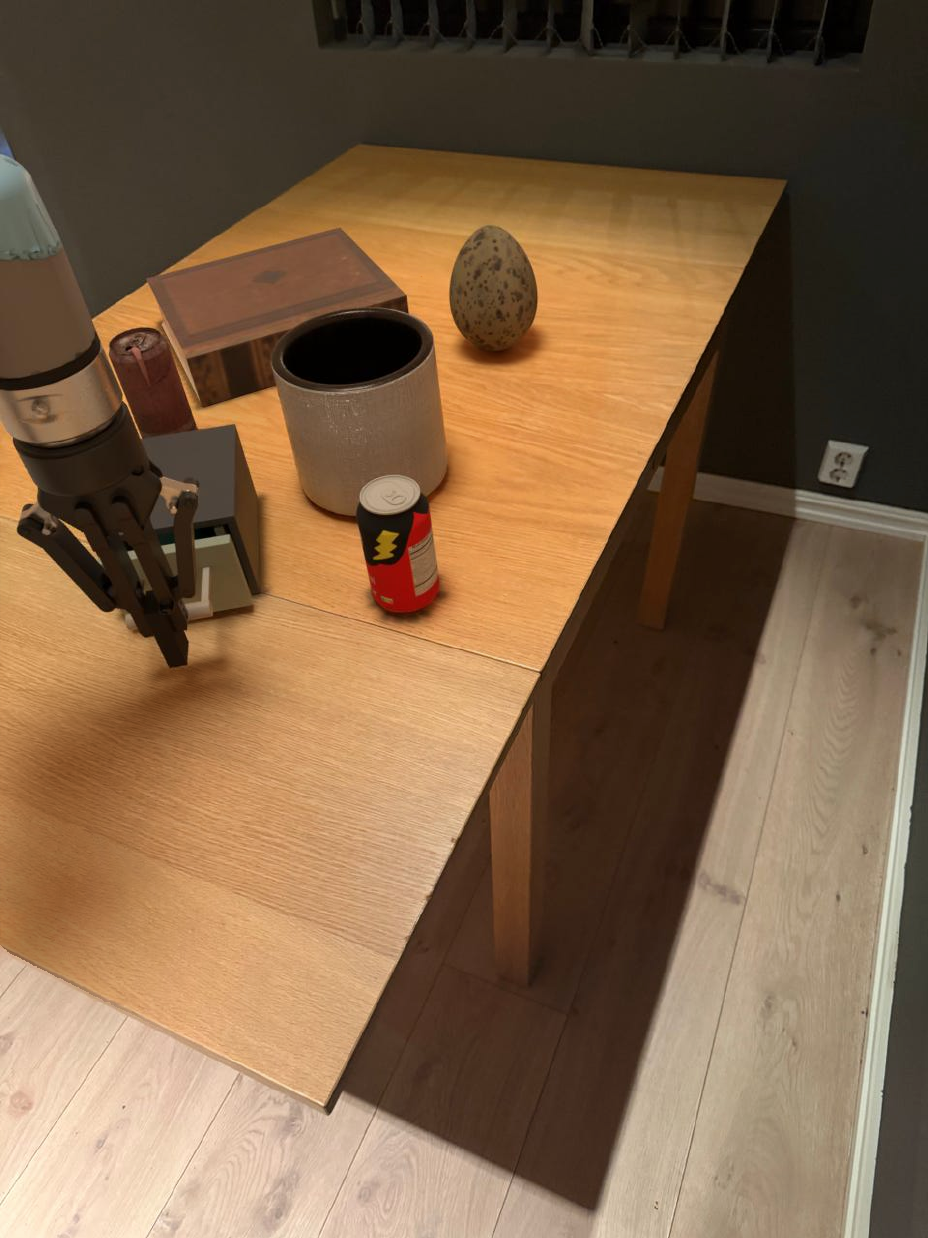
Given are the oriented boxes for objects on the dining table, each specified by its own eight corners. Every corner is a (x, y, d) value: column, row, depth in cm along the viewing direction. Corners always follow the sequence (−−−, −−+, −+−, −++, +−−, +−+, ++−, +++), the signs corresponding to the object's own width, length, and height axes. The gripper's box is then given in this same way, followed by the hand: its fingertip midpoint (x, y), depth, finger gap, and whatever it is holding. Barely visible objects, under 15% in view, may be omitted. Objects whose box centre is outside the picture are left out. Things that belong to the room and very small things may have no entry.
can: (158, 473, 99) (113, 361, 89) (143, 446, 103) (99, 335, 93) (210, 455, 100) (171, 343, 90) (193, 428, 104) (155, 318, 94)
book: (412, 342, 115) (406, 294, 110) (202, 406, 108) (186, 358, 103) (347, 271, 130) (340, 227, 126) (161, 323, 123) (145, 278, 119)
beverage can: (410, 562, 86) (394, 461, 77) (454, 593, 82) (442, 491, 74) (359, 596, 83) (337, 495, 74) (403, 629, 79) (384, 528, 71)
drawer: (252, 650, 78) (229, 587, 72) (122, 673, 77) (88, 611, 71) (251, 514, 91) (231, 452, 85) (140, 533, 90) (112, 472, 85)
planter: (469, 444, 98) (458, 313, 87) (416, 535, 88) (396, 401, 77) (340, 424, 103) (314, 297, 92) (275, 509, 93) (237, 378, 82)
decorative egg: (470, 320, 118) (462, 205, 107) (548, 329, 114) (548, 211, 104) (441, 362, 111) (429, 243, 100) (523, 373, 108) (520, 251, 97)
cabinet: (260, 593, 84) (234, 515, 77) (127, 616, 83) (88, 539, 76) (258, 499, 94) (235, 423, 87) (139, 519, 93) (106, 444, 86)
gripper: (-48, 467, 55) (96, 703, 72) (164, 433, 55) (256, 674, 72) (-22, 402, 60) (106, 636, 77) (171, 372, 61) (256, 610, 78)
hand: (179, 654), depth 75 cm, fingers closed
